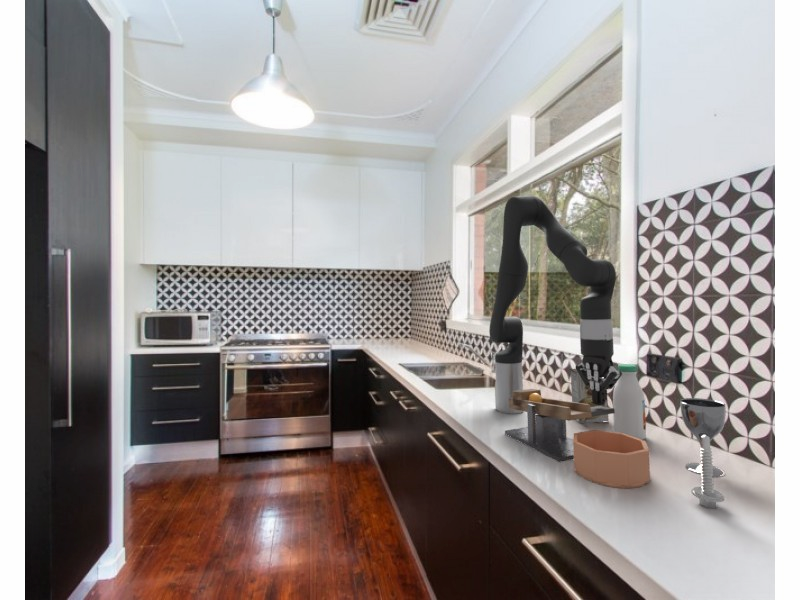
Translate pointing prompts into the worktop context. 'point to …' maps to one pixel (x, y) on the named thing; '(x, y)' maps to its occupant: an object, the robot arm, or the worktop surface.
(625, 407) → the milk bottle
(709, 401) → the wine glass
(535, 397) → the ball
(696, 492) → the screw
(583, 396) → the coffee box
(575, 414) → the seesaw lever
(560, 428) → the lever stand
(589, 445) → the bowl
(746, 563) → the worktop surface
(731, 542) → the worktop surface
